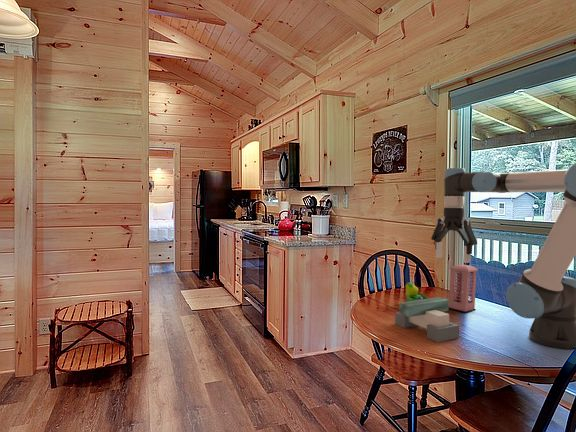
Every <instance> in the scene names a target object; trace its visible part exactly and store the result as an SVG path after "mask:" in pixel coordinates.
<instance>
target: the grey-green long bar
mask: <svg viewBox="0 0 576 432" xmlns="http://www.w3.org/2000/svg"><path fill="white" fill-rule="evenodd" d="M432 310H438V311H441V312H448V311H449V299H447V298H443V297H432V298H428V299H424V300H417V301H410V302H407V301H405V302H404V301H402V302H399V311H398V312H399V314H401V315H404V316H406V317H412V316H418V315H424V314H426V311H432Z"/></svg>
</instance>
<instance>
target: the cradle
mask: <svg viewBox="0 0 576 432" xmlns="http://www.w3.org/2000/svg"><path fill="white" fill-rule="evenodd" d="M394 316H395V317H394V324H395V325H397V326H399V327H401V328H404V329H405V328H412V327H417V326H418V325H416V324H413V323H411V322H408V317H406V316H404V315H401V314H399V311H397V312H395V314H394ZM459 338H460V325H459V324H456V323H454V322H451V321H449V326H447V327H441V328H438V327H436V326H433V325H431V324H429V325H427V329H426V339H430V340H431V341H433V342H437V343H441V342H445V341H447V342H448V341H451V340H455V339H459Z"/></svg>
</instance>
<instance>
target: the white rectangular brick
mask: <svg viewBox="0 0 576 432" xmlns="http://www.w3.org/2000/svg"><path fill="white" fill-rule="evenodd" d="M408 322H411V323H413V324H416V325H418V326H419V327H420V328H424V329H426V330H427V325H429V324H431V325H433V326H436V327H438V328H441V327H447V326H449V322H450V313H446V312H445V311H443V312H441V311H438V310H432V311H426V314H424V315H418V316H412V317H408Z"/></svg>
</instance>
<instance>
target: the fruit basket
mask: <svg viewBox="0 0 576 432" xmlns="http://www.w3.org/2000/svg"><path fill="white" fill-rule="evenodd" d="M419 291H420V290H419V288H418V286H416V285H414V284H413V282H410V281H409V282H406V284H405V297H406V302H410V301H417V300H424V299H429V298H428V297H427V296H426V295H424V294H423V293H421V292H419Z"/></svg>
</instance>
